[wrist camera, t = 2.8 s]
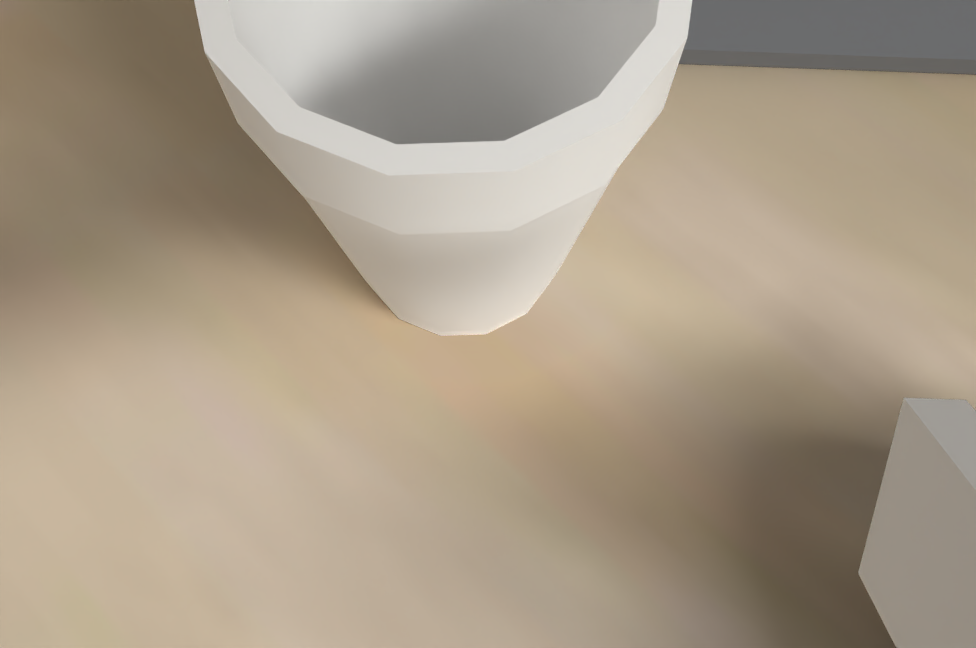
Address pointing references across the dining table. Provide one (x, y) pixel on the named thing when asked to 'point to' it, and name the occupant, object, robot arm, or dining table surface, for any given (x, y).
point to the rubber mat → (835, 34)
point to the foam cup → (448, 130)
